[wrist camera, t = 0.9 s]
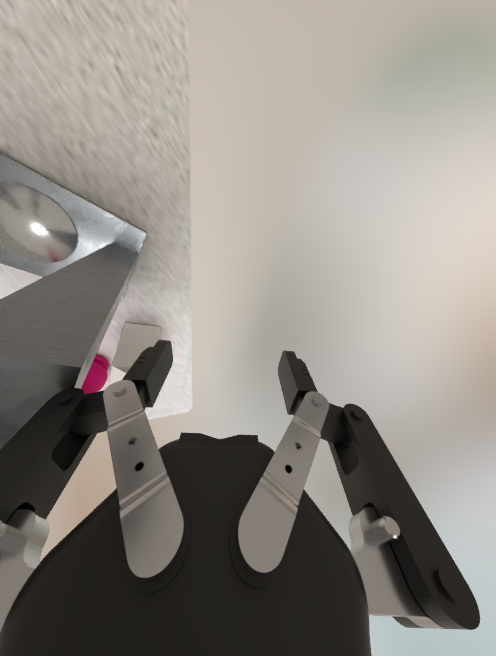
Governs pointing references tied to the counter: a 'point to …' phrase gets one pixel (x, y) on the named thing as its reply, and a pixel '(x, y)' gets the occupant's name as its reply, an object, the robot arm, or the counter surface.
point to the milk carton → (132, 347)
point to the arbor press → (55, 288)
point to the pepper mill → (96, 375)
